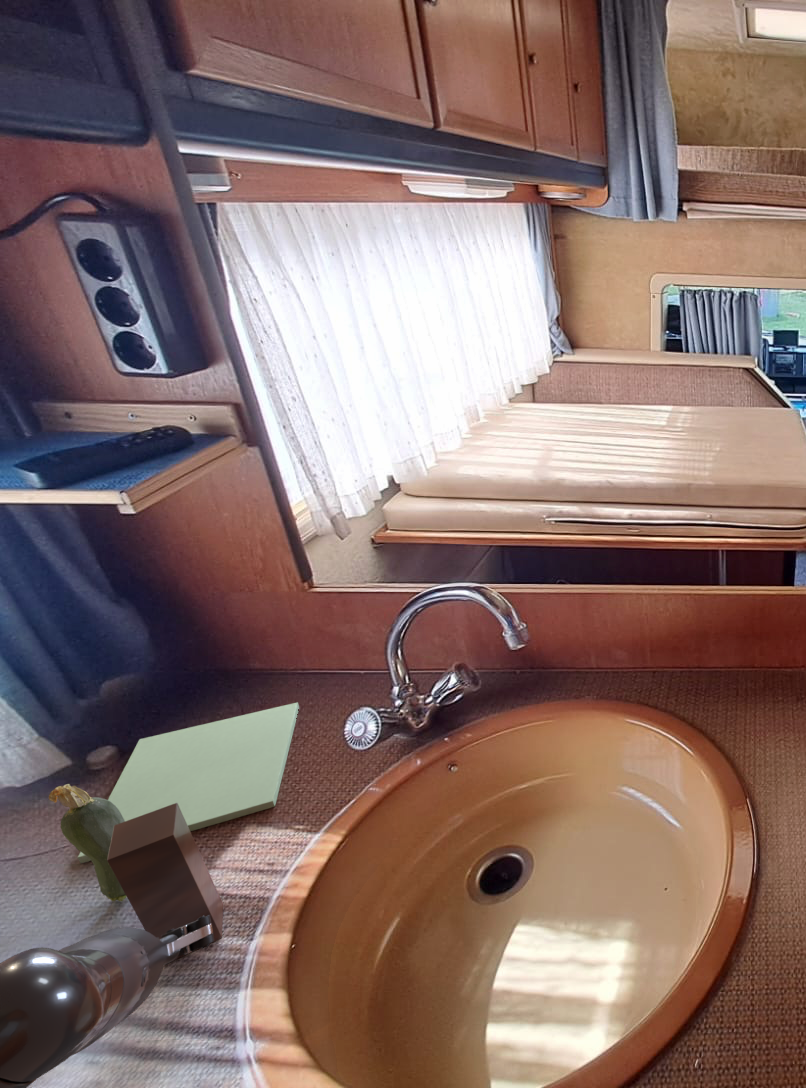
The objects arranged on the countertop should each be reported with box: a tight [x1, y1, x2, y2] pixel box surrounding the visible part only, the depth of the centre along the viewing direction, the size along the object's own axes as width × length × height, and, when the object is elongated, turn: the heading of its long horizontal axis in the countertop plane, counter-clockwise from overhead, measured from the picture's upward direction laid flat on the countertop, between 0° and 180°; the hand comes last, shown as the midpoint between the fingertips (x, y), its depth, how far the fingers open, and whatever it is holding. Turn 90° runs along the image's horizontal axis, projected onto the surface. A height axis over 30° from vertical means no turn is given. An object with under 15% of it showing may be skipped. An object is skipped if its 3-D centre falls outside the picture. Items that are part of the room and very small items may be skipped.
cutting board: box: [77, 701, 300, 864], centre depth 93 cm, size 20×22×1 cm
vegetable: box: [48, 783, 127, 902], centre depth 73 cm, size 4×4×20 cm
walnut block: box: [107, 803, 224, 964], centre depth 70 cm, size 5×5×18 cm
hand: (150, 952), depth 62 cm, fingers closed
